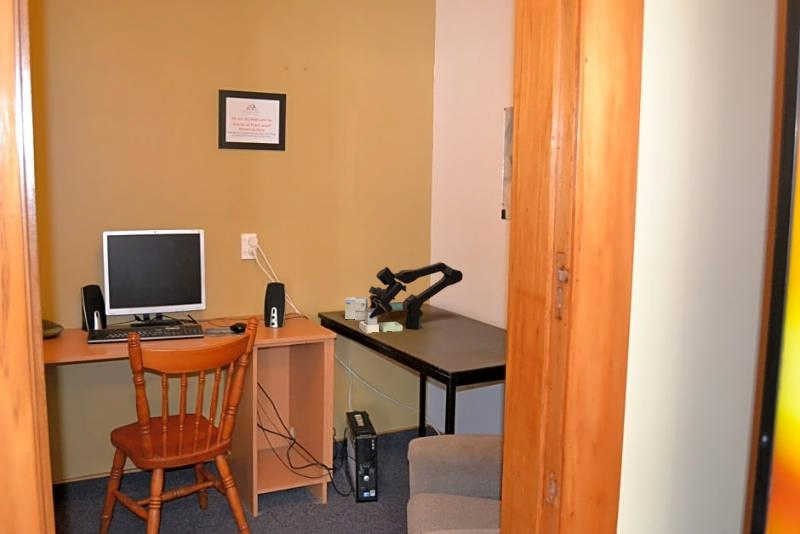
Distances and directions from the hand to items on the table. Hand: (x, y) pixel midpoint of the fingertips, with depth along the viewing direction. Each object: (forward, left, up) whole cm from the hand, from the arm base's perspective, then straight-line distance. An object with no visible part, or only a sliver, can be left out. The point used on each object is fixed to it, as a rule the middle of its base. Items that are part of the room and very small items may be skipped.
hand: (368, 316), depth 327 cm
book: (+6, -42, -7) cm, 43 cm away
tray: (-8, -8, -7) cm, 13 cm away
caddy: (-1, -1, -7) cm, 7 cm away
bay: (-1, -1, -7) cm, 7 cm away
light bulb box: (+18, -22, -7) cm, 29 cm away
